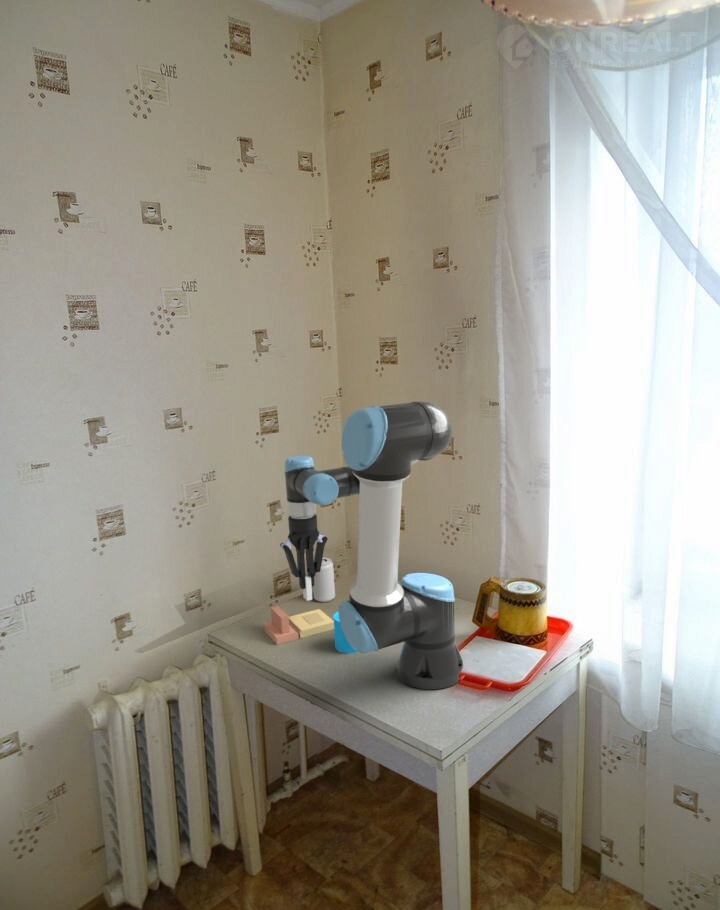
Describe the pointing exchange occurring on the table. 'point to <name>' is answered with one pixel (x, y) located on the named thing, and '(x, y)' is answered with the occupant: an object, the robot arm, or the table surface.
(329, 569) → the beverage can
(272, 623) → the pink stepped block
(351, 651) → the mug
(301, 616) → the tan flat square block
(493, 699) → the table surface
